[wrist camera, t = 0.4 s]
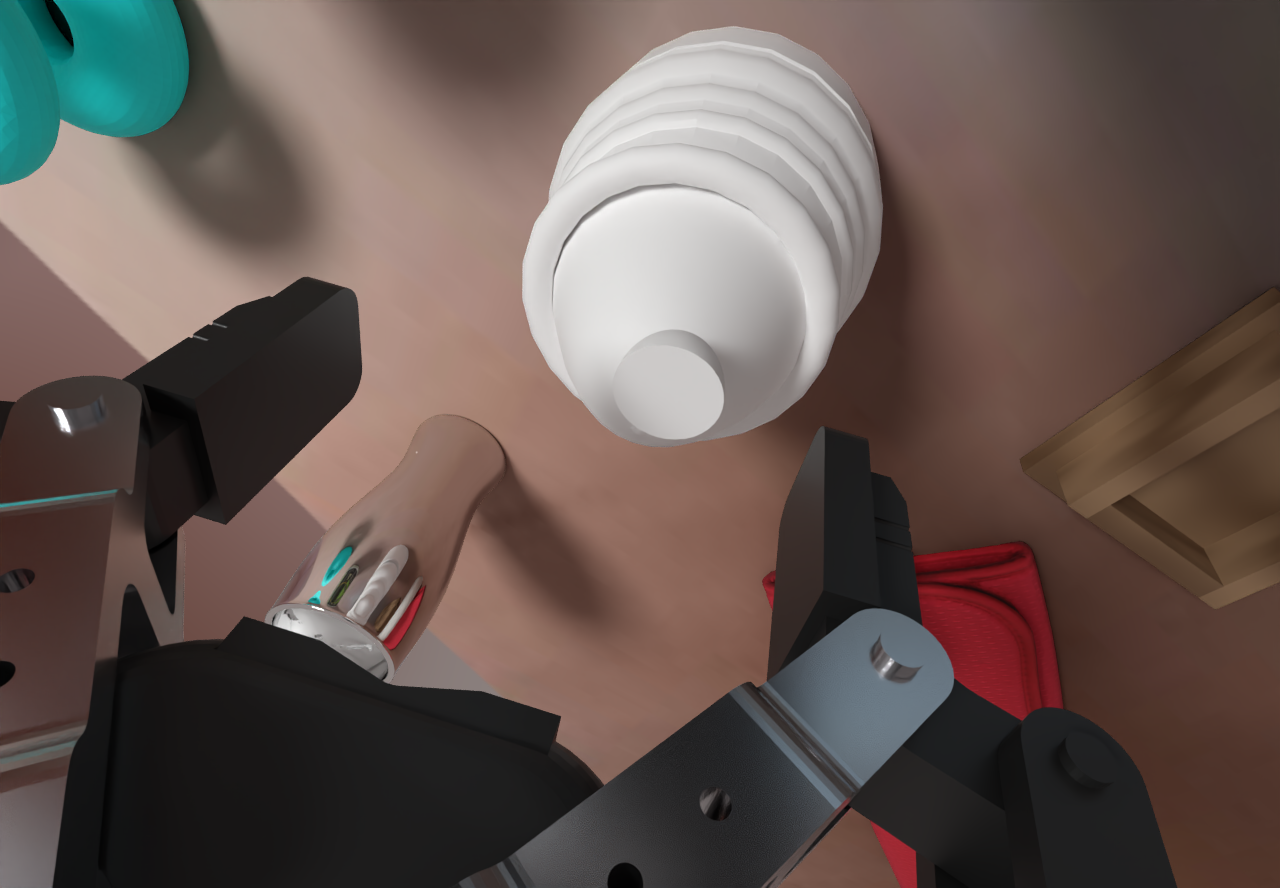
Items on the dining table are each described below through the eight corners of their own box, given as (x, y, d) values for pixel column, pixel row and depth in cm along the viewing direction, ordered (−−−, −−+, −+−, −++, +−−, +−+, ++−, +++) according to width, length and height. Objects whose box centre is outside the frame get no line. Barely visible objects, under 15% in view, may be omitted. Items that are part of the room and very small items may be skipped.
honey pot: (675, -50, 26) (483, 32, 12) (948, 149, 28) (1050, 413, 14) (540, 231, 34) (333, 470, 20) (759, 369, 36) (705, 672, 22)
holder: (1273, 286, 28) (1318, 329, 25) (1459, 444, 30) (1518, 498, 28) (1019, 459, 36) (1033, 506, 33) (1182, 575, 38) (1208, 628, 35)
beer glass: (527, 442, 43) (411, 647, 31) (495, 509, 47) (384, 710, 36) (422, 388, 42) (264, 579, 30) (400, 462, 46) (255, 652, 35)
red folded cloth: (1034, 531, 39) (1049, 583, 36) (1090, 871, 59) (1102, 921, 57) (761, 565, 45) (756, 611, 43) (897, 861, 66) (899, 905, 63)
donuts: (-41, 240, 29) (-311, 2, 25) (143, 165, 37) (-40, -27, 32) (53, 104, 24) (-265, -223, 20) (243, 50, 32) (42, -195, 27)
